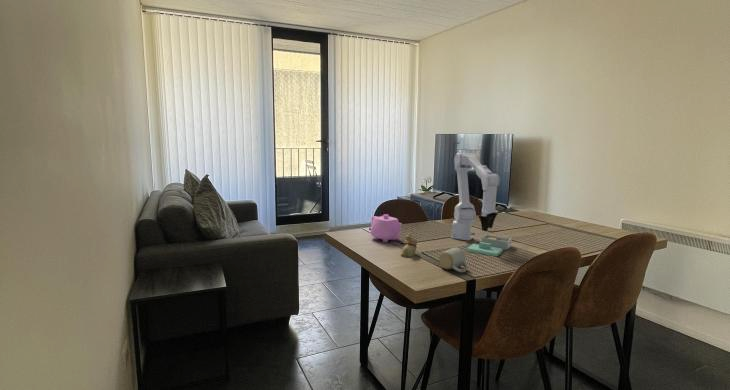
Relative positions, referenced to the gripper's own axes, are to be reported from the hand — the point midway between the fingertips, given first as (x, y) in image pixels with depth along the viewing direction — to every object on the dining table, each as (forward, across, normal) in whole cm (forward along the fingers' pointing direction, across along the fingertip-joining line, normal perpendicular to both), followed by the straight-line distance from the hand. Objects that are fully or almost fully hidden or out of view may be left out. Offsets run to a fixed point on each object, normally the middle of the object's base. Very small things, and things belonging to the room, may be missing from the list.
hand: (487, 229), depth 182 cm
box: (+10, +9, -2) cm, 14 cm away
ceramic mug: (+10, -35, +2) cm, 36 cm away
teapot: (+10, -13, +46) cm, 49 cm away
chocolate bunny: (+10, -29, +25) cm, 40 cm away
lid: (+10, -3, 0) cm, 10 cm away
